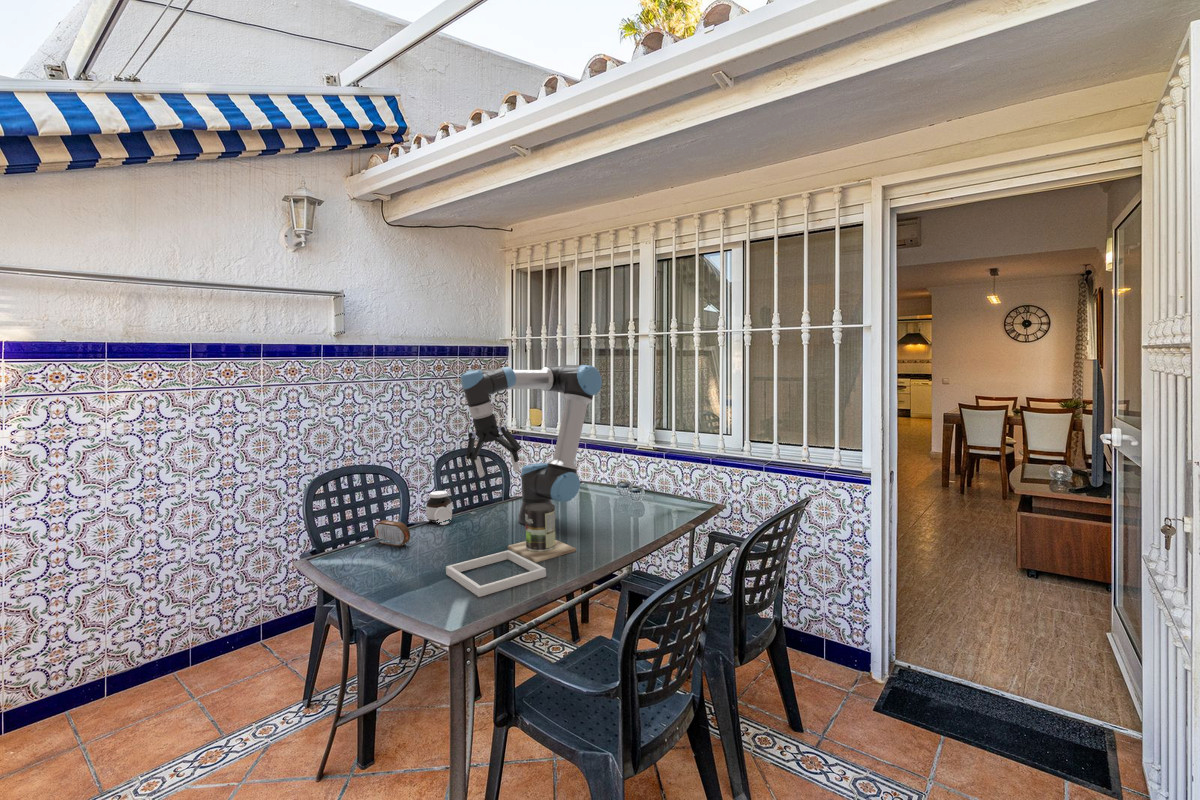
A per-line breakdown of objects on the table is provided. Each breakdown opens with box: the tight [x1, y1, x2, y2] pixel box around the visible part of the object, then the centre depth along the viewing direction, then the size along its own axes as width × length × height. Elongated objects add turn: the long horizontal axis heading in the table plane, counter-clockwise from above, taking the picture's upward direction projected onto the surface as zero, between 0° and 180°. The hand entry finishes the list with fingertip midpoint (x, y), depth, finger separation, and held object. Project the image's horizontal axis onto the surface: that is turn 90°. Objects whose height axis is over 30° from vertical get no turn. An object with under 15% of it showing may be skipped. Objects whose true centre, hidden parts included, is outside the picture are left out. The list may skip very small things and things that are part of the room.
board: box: [507, 539, 577, 563], centre depth 193 cm, size 18×16×1 cm
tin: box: [373, 519, 411, 547], centre depth 202 cm, size 15×3×8 cm, turn 65°
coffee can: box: [525, 503, 556, 552], centre depth 193 cm, size 10×10×14 cm
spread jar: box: [425, 490, 453, 526], centre depth 229 cm, size 12×11×12 cm
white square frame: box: [445, 549, 547, 598], centre depth 171 cm, size 22×22×2 cm
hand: (499, 473), depth 196 cm, fingers open, 13 cm apart
